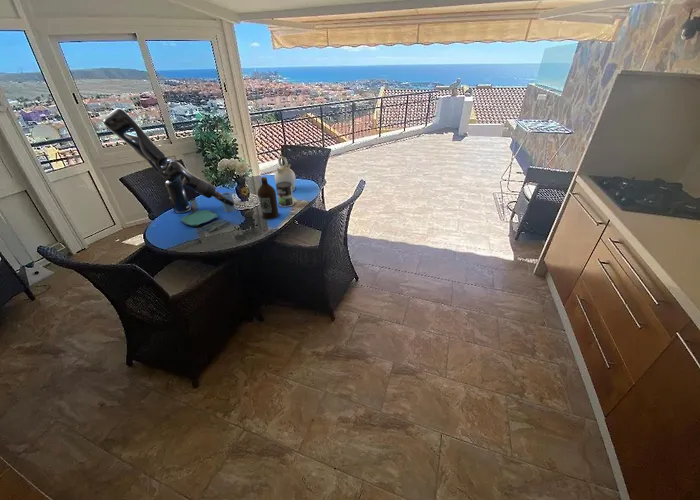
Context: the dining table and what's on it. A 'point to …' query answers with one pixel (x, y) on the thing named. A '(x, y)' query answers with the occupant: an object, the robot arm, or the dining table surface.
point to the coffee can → (285, 194)
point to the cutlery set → (202, 219)
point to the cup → (226, 206)
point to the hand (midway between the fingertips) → (231, 202)
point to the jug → (285, 173)
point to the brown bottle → (267, 200)
